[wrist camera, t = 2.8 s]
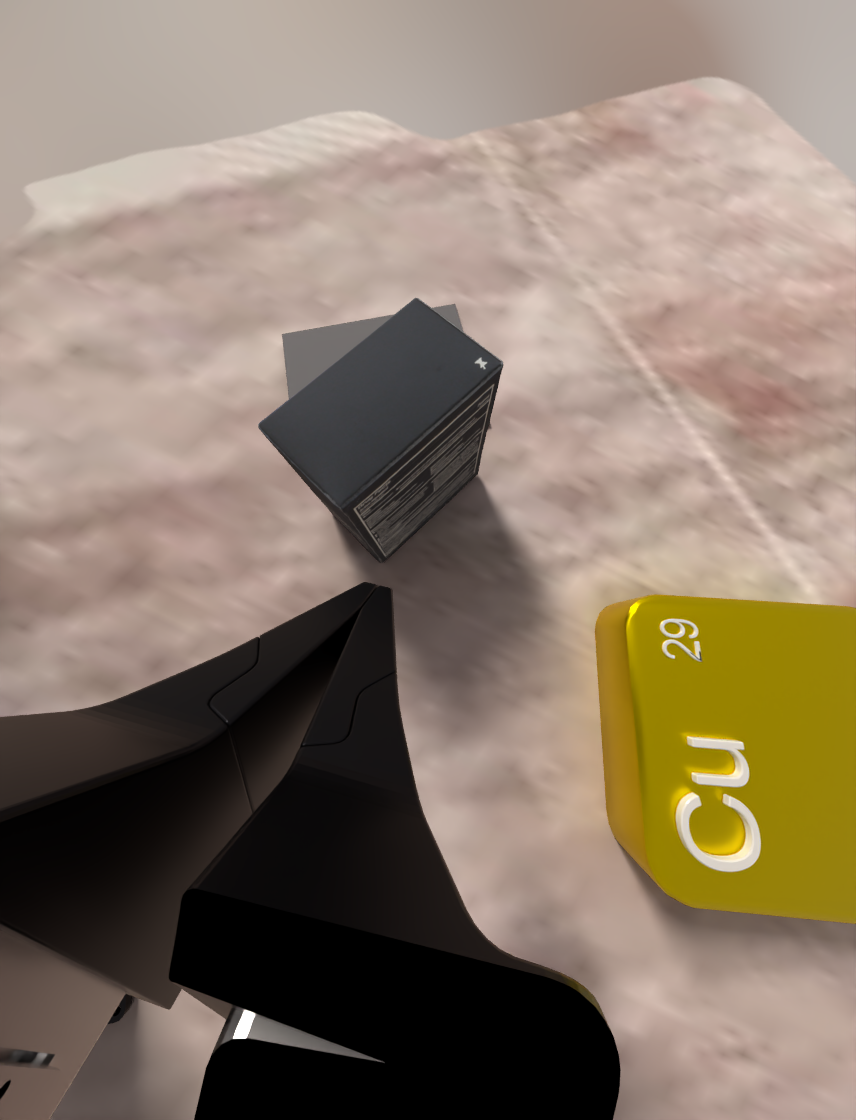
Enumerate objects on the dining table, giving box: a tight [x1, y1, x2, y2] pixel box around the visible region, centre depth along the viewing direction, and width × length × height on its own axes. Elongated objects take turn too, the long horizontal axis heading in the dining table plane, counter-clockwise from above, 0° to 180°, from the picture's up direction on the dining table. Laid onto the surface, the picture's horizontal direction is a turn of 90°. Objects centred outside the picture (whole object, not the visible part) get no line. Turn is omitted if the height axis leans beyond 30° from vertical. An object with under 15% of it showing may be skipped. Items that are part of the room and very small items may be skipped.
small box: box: [258, 298, 503, 563], centre depth 20 cm, size 11×6×10 cm, turn 135°
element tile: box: [595, 594, 856, 924], centre depth 18 cm, size 15×15×5 cm
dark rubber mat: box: [282, 304, 490, 424], centre depth 28 cm, size 13×16×1 cm
